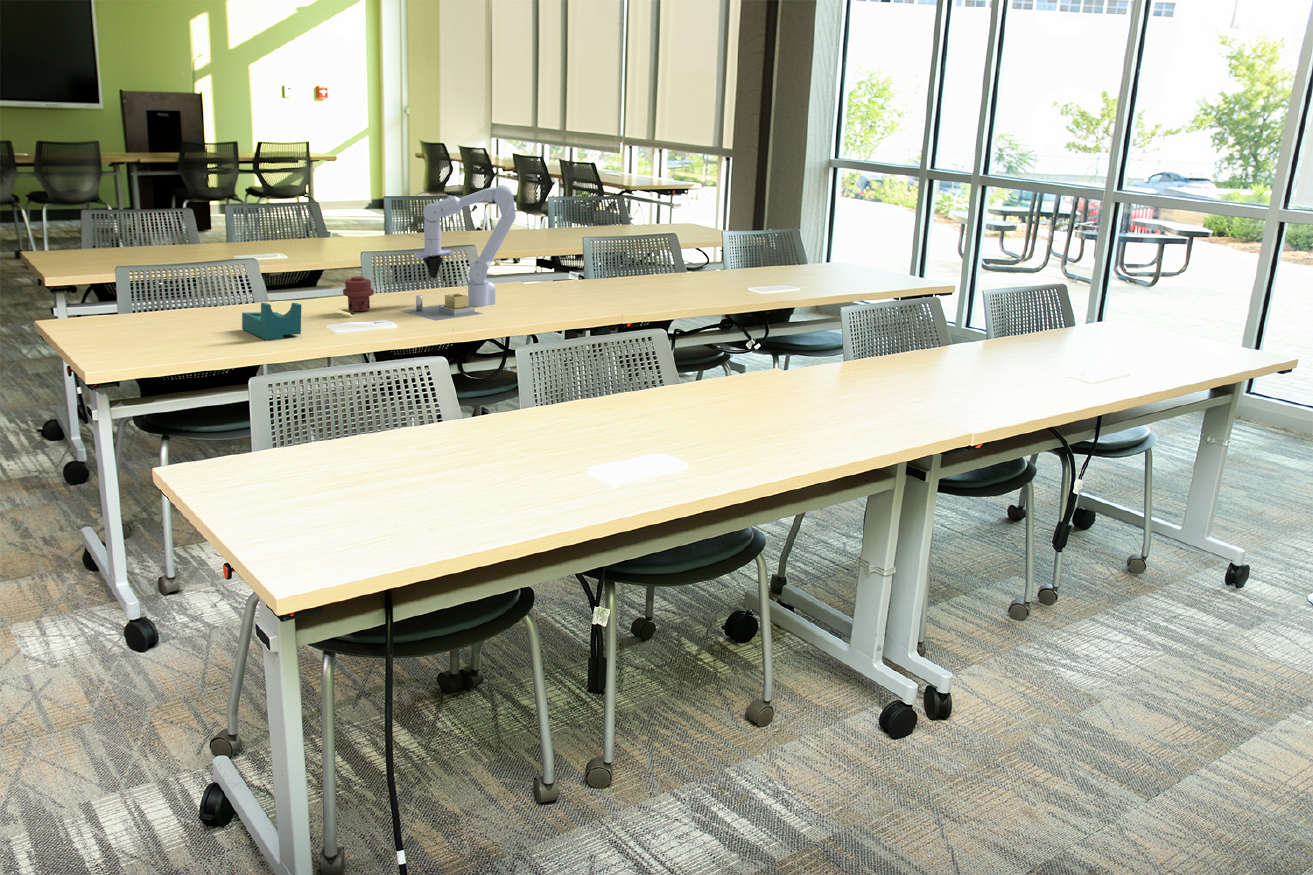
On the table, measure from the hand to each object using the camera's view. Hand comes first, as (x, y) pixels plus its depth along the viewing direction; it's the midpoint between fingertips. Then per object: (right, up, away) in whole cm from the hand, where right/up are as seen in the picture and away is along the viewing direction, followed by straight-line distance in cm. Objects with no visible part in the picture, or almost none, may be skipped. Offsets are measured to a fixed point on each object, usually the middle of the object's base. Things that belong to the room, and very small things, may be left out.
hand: (433, 277), depth 359 cm
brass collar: (+10, -13, -10) cm, 19 cm away
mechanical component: (-22, -15, -14) cm, 30 cm away
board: (+5, -14, -10) cm, 18 cm away
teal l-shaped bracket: (-39, -25, -48) cm, 67 cm away
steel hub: (+10, -14, -10) cm, 20 cm away
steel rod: (-2, -13, -11) cm, 17 cm away
